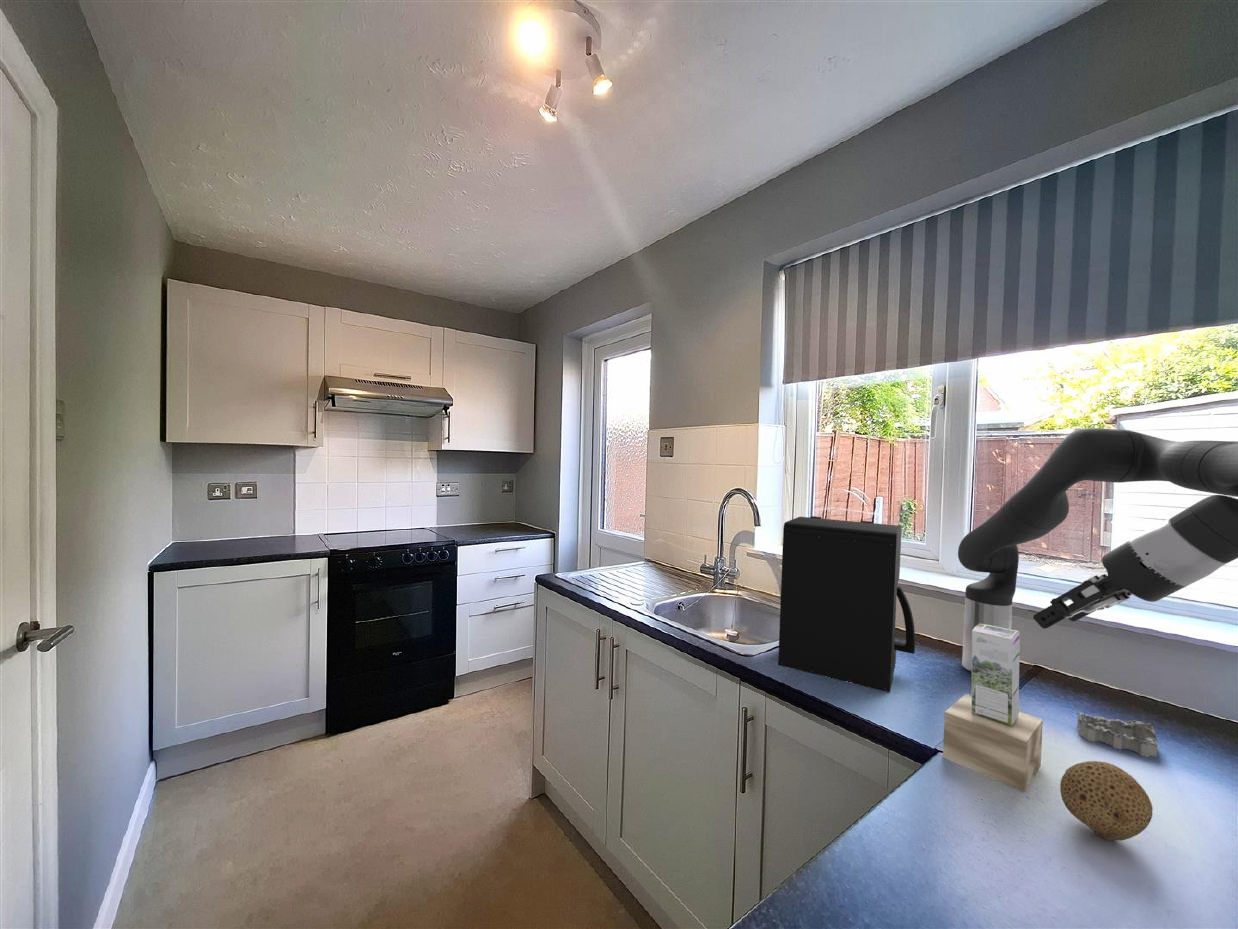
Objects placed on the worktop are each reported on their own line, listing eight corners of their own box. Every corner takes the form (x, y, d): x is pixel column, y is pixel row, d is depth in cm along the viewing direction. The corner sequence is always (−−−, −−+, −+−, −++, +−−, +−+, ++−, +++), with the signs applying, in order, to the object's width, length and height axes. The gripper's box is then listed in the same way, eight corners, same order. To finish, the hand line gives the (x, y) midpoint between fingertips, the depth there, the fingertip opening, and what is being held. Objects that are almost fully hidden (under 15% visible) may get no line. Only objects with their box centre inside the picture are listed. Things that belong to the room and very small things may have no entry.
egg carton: (1155, 746, 91) (1156, 724, 91) (1159, 764, 86) (1160, 740, 86) (1076, 723, 99) (1077, 702, 98) (1075, 737, 93) (1076, 716, 93)
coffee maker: (914, 667, 122) (921, 525, 122) (911, 698, 106) (918, 535, 105) (796, 641, 138) (801, 514, 137) (777, 665, 121) (783, 521, 120)
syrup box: (1020, 715, 84) (1020, 629, 84) (1012, 727, 80) (1013, 638, 80) (979, 702, 89) (979, 621, 89) (970, 714, 85) (970, 629, 85)
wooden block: (964, 736, 92) (966, 693, 92) (1040, 766, 84) (1042, 719, 84) (942, 758, 85) (944, 712, 85) (1023, 793, 77) (1026, 742, 77)
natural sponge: (1128, 873, 62) (1132, 794, 62) (1043, 823, 70) (1047, 753, 70) (1163, 852, 66) (1167, 777, 65) (1078, 807, 74) (1082, 740, 74)
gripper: (1156, 534, 72) (1056, 593, 83) (1110, 540, 66) (1008, 602, 76) (1210, 579, 67) (1096, 635, 78) (1166, 590, 61) (1049, 649, 72)
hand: (1053, 619), depth 77 cm, fingers open, 8 cm apart
